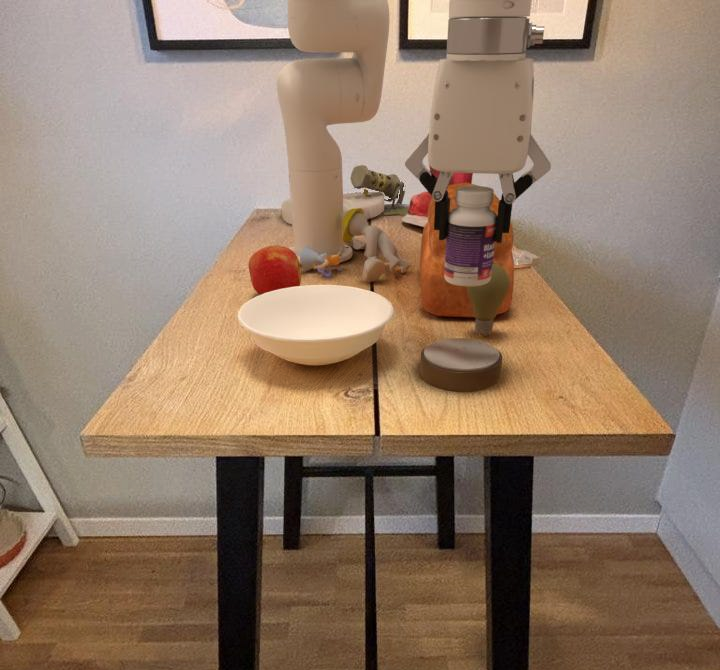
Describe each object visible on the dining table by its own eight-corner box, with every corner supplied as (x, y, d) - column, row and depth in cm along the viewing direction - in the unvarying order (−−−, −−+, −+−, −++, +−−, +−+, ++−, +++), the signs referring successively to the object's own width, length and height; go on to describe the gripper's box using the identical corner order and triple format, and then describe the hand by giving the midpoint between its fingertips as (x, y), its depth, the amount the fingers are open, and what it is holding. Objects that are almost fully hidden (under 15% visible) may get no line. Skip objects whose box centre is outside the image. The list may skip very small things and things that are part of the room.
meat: (454, 242, 128) (418, 107, 122) (399, 264, 150) (366, 150, 143) (543, 214, 136) (514, 85, 129) (478, 239, 157) (450, 129, 151)
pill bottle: (490, 288, 72) (499, 195, 67) (441, 286, 73) (447, 193, 68) (492, 274, 77) (501, 184, 71) (446, 271, 78) (451, 183, 72)
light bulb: (479, 324, 95) (485, 254, 89) (511, 334, 92) (520, 262, 86) (454, 335, 92) (460, 263, 86) (487, 346, 89) (495, 272, 83)
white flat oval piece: (257, 219, 150) (256, 206, 148) (334, 196, 168) (333, 184, 166) (334, 231, 138) (333, 217, 136) (407, 205, 156) (407, 192, 155)
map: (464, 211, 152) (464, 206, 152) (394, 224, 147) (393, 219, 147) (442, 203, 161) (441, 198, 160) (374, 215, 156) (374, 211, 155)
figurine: (371, 303, 117) (324, 248, 122) (412, 274, 117) (364, 220, 122) (363, 271, 107) (313, 212, 112) (408, 239, 108) (357, 182, 112)
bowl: (228, 340, 91) (222, 295, 88) (360, 319, 97) (359, 276, 94) (265, 402, 76) (259, 350, 73) (418, 372, 82) (420, 323, 78)
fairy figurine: (294, 239, 122) (352, 237, 117) (298, 265, 124) (355, 264, 119) (261, 256, 113) (322, 254, 108) (267, 283, 116) (327, 283, 111)
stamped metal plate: (538, 265, 118) (540, 257, 117) (505, 270, 116) (505, 261, 115) (516, 253, 124) (517, 245, 123) (483, 257, 122) (484, 249, 122)
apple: (298, 306, 102) (295, 254, 98) (245, 306, 103) (239, 254, 98) (305, 289, 109) (302, 240, 104) (255, 289, 109) (250, 240, 105)
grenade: (353, 160, 148) (397, 173, 158) (343, 190, 151) (387, 201, 162) (374, 171, 144) (417, 184, 155) (363, 202, 147) (406, 212, 158)
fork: (325, 218, 138) (326, 232, 139) (366, 241, 122) (366, 256, 123) (338, 217, 138) (338, 231, 140) (380, 240, 123) (380, 255, 124)
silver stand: (425, 354, 87) (426, 334, 85) (502, 360, 85) (504, 339, 83) (414, 387, 79) (415, 366, 77) (498, 395, 77) (501, 373, 75)
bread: (418, 319, 96) (423, 208, 88) (419, 265, 118) (422, 172, 109) (514, 321, 95) (528, 209, 87) (497, 266, 117) (506, 172, 108)
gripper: (578, 40, 64) (549, 233, 74) (404, 41, 67) (400, 226, 77) (582, 41, 58) (550, 251, 68) (391, 43, 61) (388, 243, 71)
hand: (470, 236), depth 72 cm, fingers closed on pill bottle, 5 cm apart
